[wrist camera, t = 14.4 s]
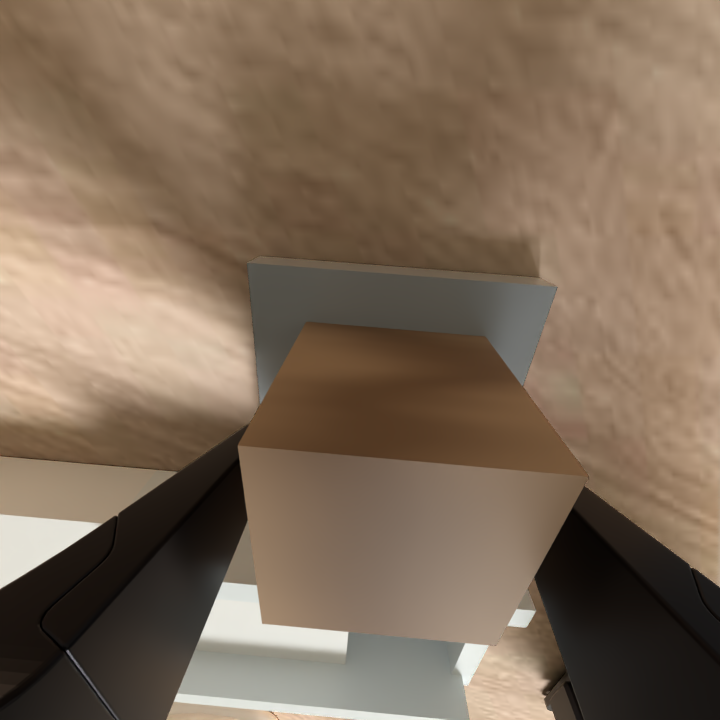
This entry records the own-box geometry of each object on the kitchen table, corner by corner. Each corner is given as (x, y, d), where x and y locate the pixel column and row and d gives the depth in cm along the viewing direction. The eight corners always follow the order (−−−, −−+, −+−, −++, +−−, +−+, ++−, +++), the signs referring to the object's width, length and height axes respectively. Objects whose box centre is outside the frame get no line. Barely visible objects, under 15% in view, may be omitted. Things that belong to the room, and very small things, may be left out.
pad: (540, 277, 9) (557, 286, 8) (475, 479, 13) (482, 501, 12) (259, 255, 9) (246, 262, 8) (274, 462, 13) (267, 482, 12)
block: (485, 336, 9) (588, 476, 5) (450, 468, 11) (496, 646, 7) (306, 321, 9) (237, 445, 5) (307, 455, 11) (262, 624, 7)
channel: (506, 500, 13) (552, 612, 10) (456, 624, 18) (476, 731, 14) (-32, 453, 14) (-175, 545, 10) (56, 587, 18) (-22, 682, 15)
